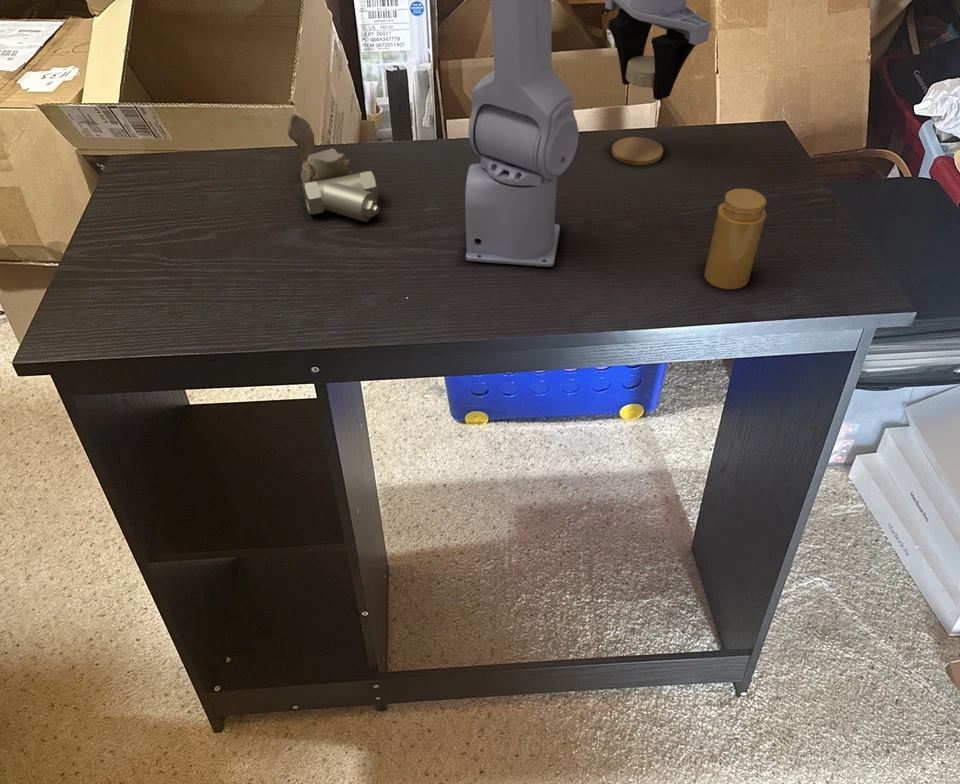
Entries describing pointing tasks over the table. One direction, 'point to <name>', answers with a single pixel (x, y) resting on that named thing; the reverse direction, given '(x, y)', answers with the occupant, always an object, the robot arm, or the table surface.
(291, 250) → the table surface
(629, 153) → the coaster
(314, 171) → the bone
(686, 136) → the table surface
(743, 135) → the table surface
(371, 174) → the pipe fitting
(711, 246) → the jar
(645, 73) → the jar lid
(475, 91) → the robot arm
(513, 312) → the table surface
